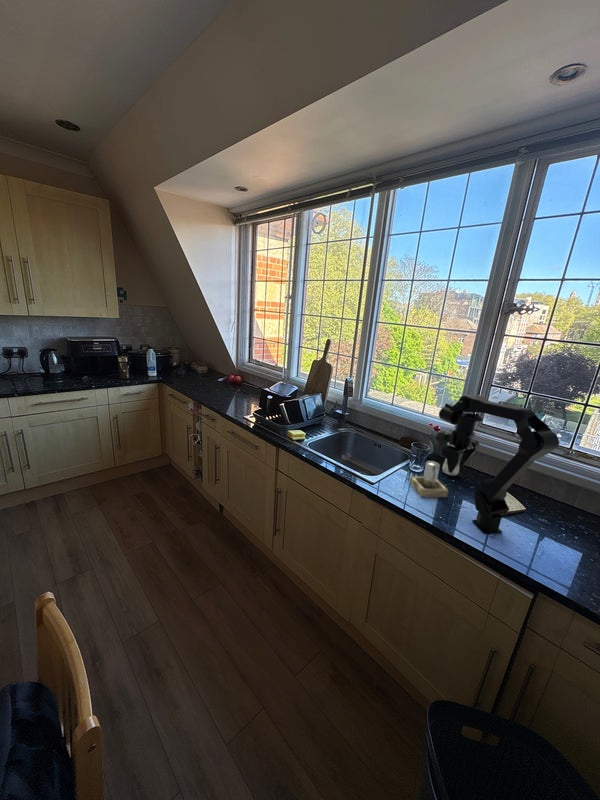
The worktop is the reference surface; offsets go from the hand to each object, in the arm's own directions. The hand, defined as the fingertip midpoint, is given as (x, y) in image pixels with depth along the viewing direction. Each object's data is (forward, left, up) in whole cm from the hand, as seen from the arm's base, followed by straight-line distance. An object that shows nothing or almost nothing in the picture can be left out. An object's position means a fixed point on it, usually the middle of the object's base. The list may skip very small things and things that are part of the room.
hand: (455, 469), depth 119 cm
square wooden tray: (+7, +5, -13) cm, 16 cm away
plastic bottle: (+20, -12, -13) cm, 27 cm away
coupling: (+7, +5, -12) cm, 15 cm away
